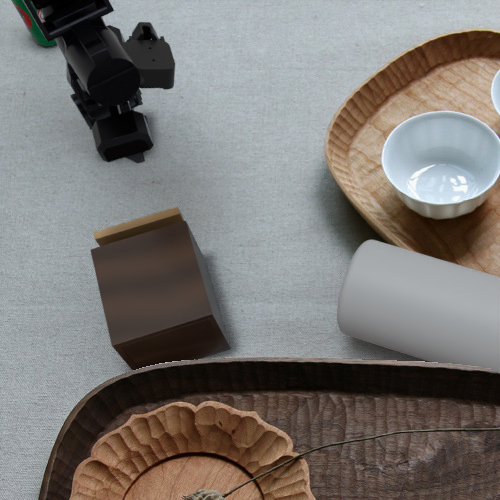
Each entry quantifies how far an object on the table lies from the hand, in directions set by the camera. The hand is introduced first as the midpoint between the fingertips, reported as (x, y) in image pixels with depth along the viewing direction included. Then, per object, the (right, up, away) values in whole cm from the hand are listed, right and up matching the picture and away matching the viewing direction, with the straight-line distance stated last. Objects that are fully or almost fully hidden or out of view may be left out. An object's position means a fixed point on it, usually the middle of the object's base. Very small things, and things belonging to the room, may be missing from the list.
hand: (135, 139), depth 105 cm
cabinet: (+4, -23, +4) cm, 24 cm away
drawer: (+2, -19, +5) cm, 20 cm away
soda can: (-22, +25, +26) cm, 42 cm away
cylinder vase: (+28, -19, -2) cm, 34 cm away
